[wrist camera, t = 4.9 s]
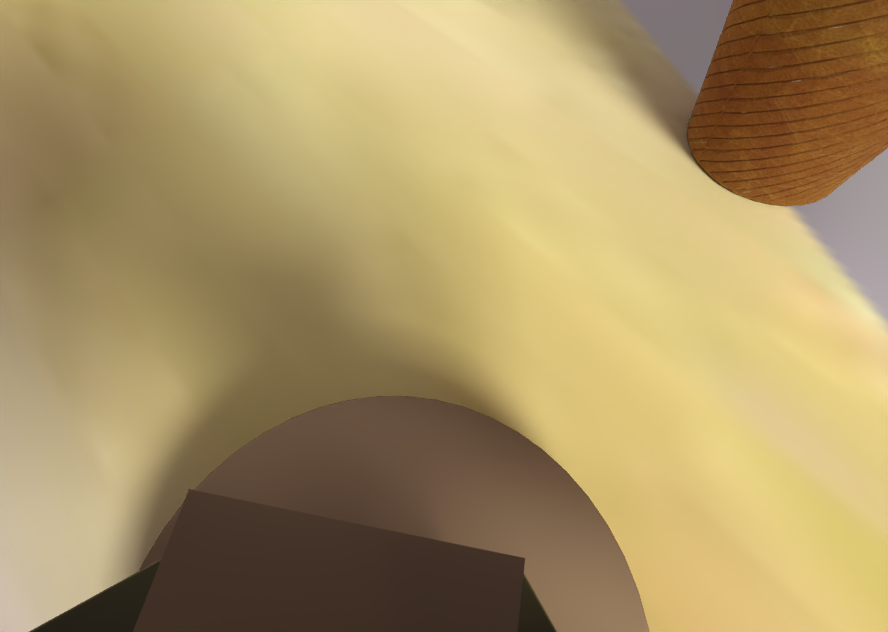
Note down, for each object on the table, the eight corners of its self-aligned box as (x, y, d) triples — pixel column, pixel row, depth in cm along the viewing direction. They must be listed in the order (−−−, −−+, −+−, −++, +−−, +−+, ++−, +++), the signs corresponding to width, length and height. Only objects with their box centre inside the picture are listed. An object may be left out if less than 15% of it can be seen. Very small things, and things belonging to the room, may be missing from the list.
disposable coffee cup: (601, 144, 23) (754, -267, 12) (724, 41, 26) (929, -352, 15) (815, 288, 20) (1270, -91, 9) (923, 150, 23) (1350, -245, 12)
